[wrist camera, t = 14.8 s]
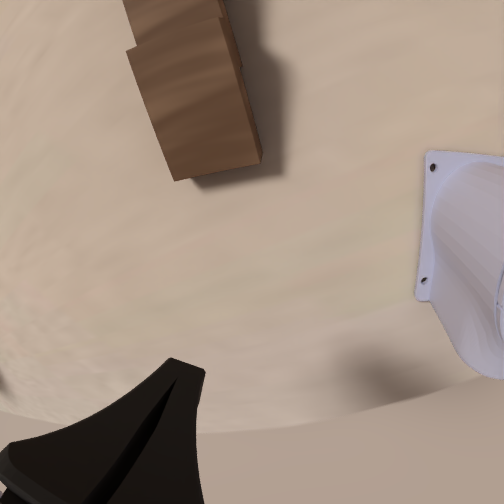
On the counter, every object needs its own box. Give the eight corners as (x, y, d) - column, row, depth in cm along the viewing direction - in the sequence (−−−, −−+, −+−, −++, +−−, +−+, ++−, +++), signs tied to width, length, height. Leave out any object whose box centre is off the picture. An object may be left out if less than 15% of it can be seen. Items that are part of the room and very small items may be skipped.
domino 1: (238, 68, 15) (198, -57, 10) (153, 94, 16) (116, -22, 11) (242, 65, 16) (206, -50, 11) (163, 89, 17) (128, -19, 12)
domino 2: (260, 163, 16) (217, 16, 12) (174, 181, 17) (125, 51, 13) (262, 152, 17) (224, 18, 13) (182, 169, 19) (138, 48, 14)
